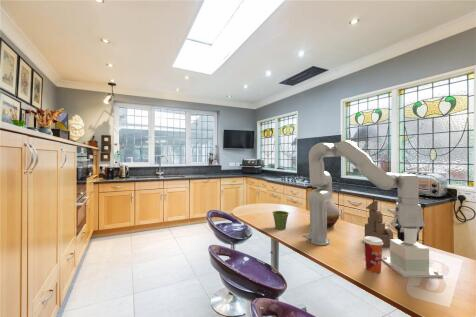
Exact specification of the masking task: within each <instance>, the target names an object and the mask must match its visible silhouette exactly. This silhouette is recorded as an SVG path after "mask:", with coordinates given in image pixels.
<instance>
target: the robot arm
mask: <svg viewBox="0 0 476 317" xmlns="http://www.w3.org/2000/svg"><path fill="white" fill-rule="evenodd" d="M333 157H342V158H343V159H345V160H346V161H347V162H348V163H351V164H352V165H353V166H354V167H355V168H357V170H358V172H360V173H361V174H362V175H363V176H364V177H365V178H366V179H367V180H368V181H370V183H371V184H373V185H374V186H376V187H377V188H379V189H381V190H391V189H395V188H397V198H395V199H394V200H395V202H396V204H395V209H394V216H393V217H394V218H393V220H391V221H390V222H389V223H390V225H391V226H392V227H393V228H394V229H395V231H397V235H396V236H397V239H399V240H401V241H404V232H403V228H404V227H417V228H418V231H417V240H416V242H419V240H420V239H419V237H420V235H419V234H420V233H421V231H422V229H423V228H424V227H425V226H426V225H427V223H426V222H425V221H424V213H423V210H422V207H421V206H422V205H421V204H419V202H420V201H419V197H420V194H419V191H420V190H419V186H420V183H419V182H420V181H419V179H420V178H419V176H418V175H417V174H412V173H395V172H386V171H385V170H383V169H381V168H380V167H379V166H377V165H376V164H375V162H373V160H372V158H371V156H370V155H369V154H368V153H366V152H365V151H363V150H362V149H361V148H359V147H358V145H357V143H356V142H354V141H353V140H352V141H351V140H346V139H345V140H341V141H339V142H318V143H316V144H314V145H313V146H312V147H310V150H309V152H308V166H309V168H308V169H309V183H310V185H311V186H312V187H314V188H316V189H313V190H311V191H310V192H309V194H308V198H307V199H308V200H307V201H308V204H309V232H308V233H306V234H305V233H301V235H302V236H301V237H302V238H305V239H307V242H308V243H310V244H312V245H316V246H328V245H329V244H330V243H331V241H330V239H329V238H328V229H327V228H328V227H327V212H326V207H325V203H328V202H329V201H332V198H333V180H332V175H331V174H330V173H329V172H328V171H327V170H325V162H324V160H323V159H324V158H333ZM399 226H401V227H400V228H399Z"/></svg>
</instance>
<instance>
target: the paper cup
mask: <svg viewBox="0 0 476 317" xmlns="http://www.w3.org/2000/svg"><path fill="white" fill-rule="evenodd" d="M363 244H364V256H365V257H364V258H365V268H366V270H367V271H368V272H371V273H376V274H379V273H381V272H382V262H383V261H382V257H383V246H382V245H383V242H382V240H381V239H380V238H377V237H372V236H366V237H365V236H364V238H363Z"/></svg>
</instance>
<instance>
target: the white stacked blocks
mask: <svg viewBox="0 0 476 317" xmlns="http://www.w3.org/2000/svg"><path fill="white" fill-rule="evenodd" d="M381 262H383V263H385V264H386V265H387V266H389V267H390V268H391V269H392V270H394V271H396V272H397V273H398V274H399V275H400V276H402V277H403V278H444V275H443V274H442V273H440V272H439V271H437V270H435V269H433V268H432V267H430V248H429V247H427V246H425V245H423V244H421V243H419V242H418V241H416V244H408V243H405V242H402V241H401V240H399V239H398V238H397V239H394V238H393V239H390V246H389V256H383V255H382V261H381Z"/></svg>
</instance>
